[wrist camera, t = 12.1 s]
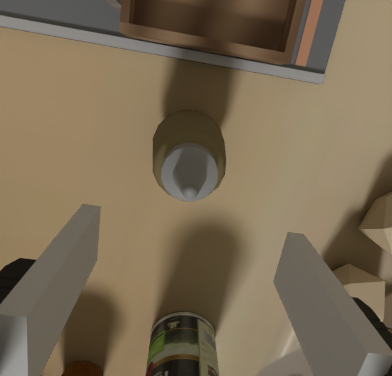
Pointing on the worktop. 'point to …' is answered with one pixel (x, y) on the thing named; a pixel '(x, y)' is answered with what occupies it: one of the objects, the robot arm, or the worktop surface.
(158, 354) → the coffee can
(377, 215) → the campfire
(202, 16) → the cart
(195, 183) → the squeeze bottle
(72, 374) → the disposable coffee cup
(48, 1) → the track
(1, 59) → the worktop surface
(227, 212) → the worktop surface
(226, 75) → the worktop surface
